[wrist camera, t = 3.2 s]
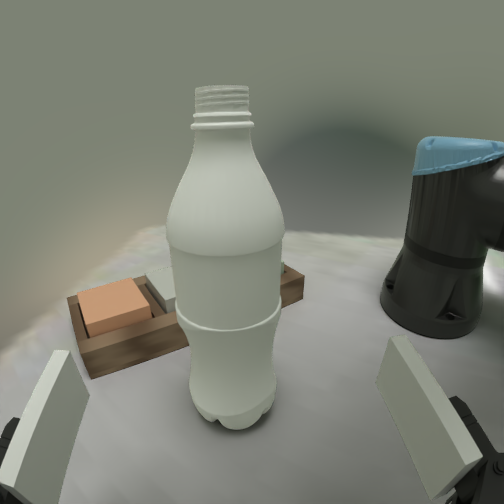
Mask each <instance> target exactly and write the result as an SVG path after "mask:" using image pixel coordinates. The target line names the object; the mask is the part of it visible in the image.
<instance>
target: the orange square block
mask: <svg viewBox="0 0 504 504" xmlns="http://www.w3.org/2000/svg"><path fill="white" fill-rule="evenodd" d="M77 296H78V299H79V303H80V307H81V310H82V314H83V317H84V321H85V324H86V327H87V330H88V333H89V336H90V338H92V337H96V336H99V335H102V334H105V333H108V332H112V331H115V330H118V329H121V328H124V327H127V326H130V325H134V324H137V323H140V322H143V321H146V320H149V319H152V314H151V309H150V305H149V303H148V302H147V300H146V299H145V298H144V296H143V295H142V293H141V292H140V290H139V289H138V287H137V286H136V284H135V283H134V281H133V279H132V278H128V279H124V280H120V281H117V282H113V283H110V284H106V285H103V286H99V287H96V288H92V289H89V290H85V291H82V292H78V293H77Z"/></svg>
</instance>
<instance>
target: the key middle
mask: <svg viewBox="0 0 504 504" xmlns="http://www.w3.org/2000/svg"><path fill="white" fill-rule="evenodd" d="M145 279H146V285H147V289H148V291H149V292H150V294H151V295H152V296H153V298H154V299H155V300H156V302H157V303H158V304H159V306H160V307H161V308H162V310H163V311H164V312H165V314H167V313H170V312H173V311H176V309H175V301H176V294H175V287H174V280H173V272H172V266H170V267H167V268H163V269H159V270H156V271H152V272H149V273H145Z"/></svg>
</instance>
